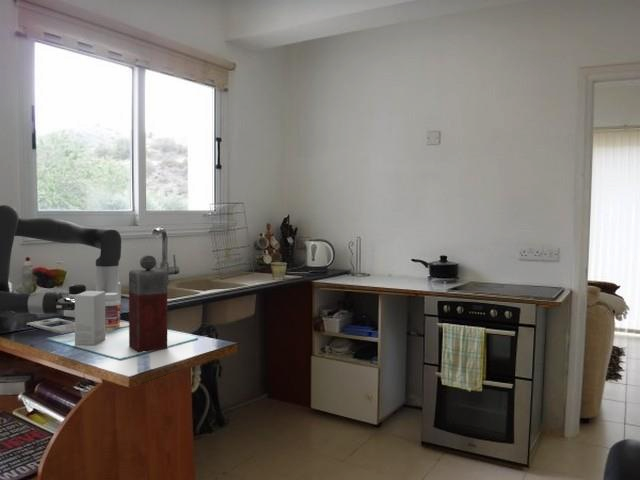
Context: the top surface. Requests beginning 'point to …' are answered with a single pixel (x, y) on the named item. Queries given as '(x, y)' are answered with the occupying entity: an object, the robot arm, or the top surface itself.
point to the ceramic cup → (278, 269)
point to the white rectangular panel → (58, 329)
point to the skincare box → (89, 317)
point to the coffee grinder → (147, 307)
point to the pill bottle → (112, 310)
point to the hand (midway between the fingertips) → (94, 302)
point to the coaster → (117, 327)
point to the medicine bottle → (72, 292)
